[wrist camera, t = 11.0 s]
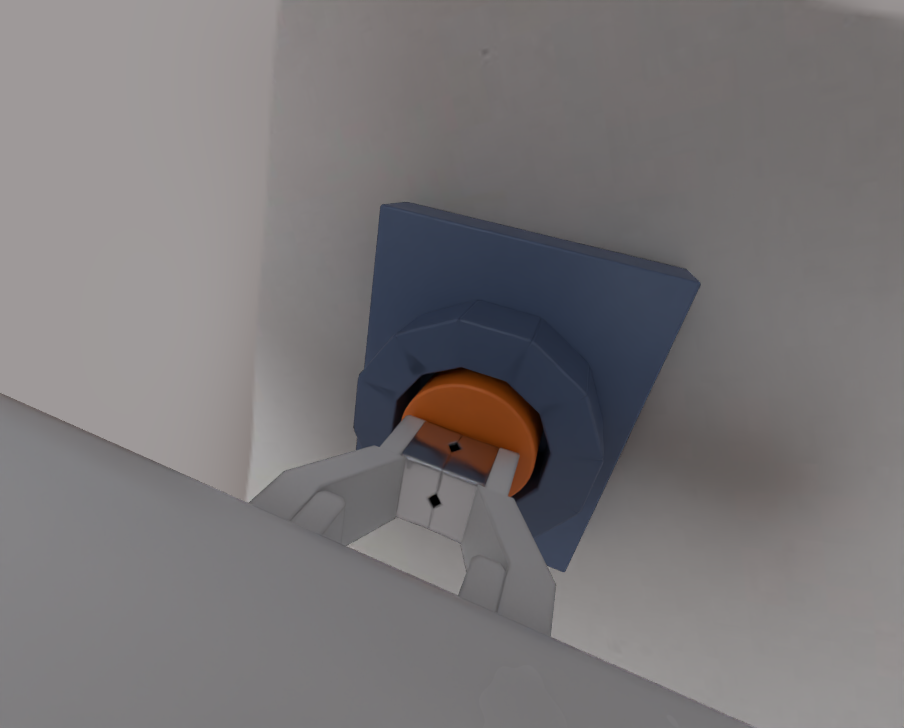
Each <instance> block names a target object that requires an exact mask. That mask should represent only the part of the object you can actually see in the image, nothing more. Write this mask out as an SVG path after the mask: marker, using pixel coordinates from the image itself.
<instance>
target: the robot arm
mask: <svg viewBox="0 0 904 728" xmlns="http://www.w3.org/2000/svg"><path fill="white" fill-rule="evenodd" d="M519 457H520V455H519V453H517V452H514V451H510V450H507V449H504V448H501V447H500V449H499V447H497V446H494V445H491V444H488V443H485V442H482V441H479V440H476V439H473V438H470V437H468V436H465V435H463V434H460V433H458V432H455V431H453V430H450V429H447V428H445V427H442V426H439V425H437V424H434V423H432V422H429V421H426V420H423V419H421V418H418V417H415V416H412V415H407V416H405V417H404V419H403V420H402V421H401V422H400V423H399V424H398V426H397V427H396V428H395V429H394V430H393V432H392V433H391V434H390V435H389V436H388V437H387V439H386V440H385V441H384V442H383V443H382V445H381V446H380V447H378V446H375V445H373V446H370V447H366V448H363V449H359V450H356V451H352V452H349V453H345V454H342V455H338V456H335V457H331V458H328V459H324V460H321V461H317V462H314V463H310V464H307V465H303V466H300V467H296V468H293V469H289V470H286V471H284V472H282V473H281V474H280V475H279V476H278V477H277V478H276V479H275V480H274V481H272V482H271V483H270V484H269V485H268V486H267V487H266V488H265V489H264V490H262V491H261V492H260V493H259V494H258V495H257V496H256V497H255V498H253V499H252V500H251V501H250V502H249V503H248V502H245V501H243V500H241V499H238V498H236V497H234V496H232V495H229V494H227V493H225V492H223V491H220V490H218V489H215V488H214V487H211V486H209V485H207V484H205V483H202V482H200V481H198V480H196V479H193V478H191V477H189V476H186V475H184V474H182V473H180V472H177V471H175V470H173V469H171V468H168V467H166V466H164V465H161V464H159V463H157V462H155V461H153V460H150V459H148V458H146V457H143V456H141V455H139V454H136V453H134V452H132V451H130V450H128V449H125V448H123V447H121V446H119V445H117V444H114V443H112V442H110V441H107V440H105V439H103V438H101V437H98V436H96V435H94V434H92V433H89V432H87V431H85V430H83V429H80V428H78V427H76V426H74V425H71V424H69V423H67V422H65V421H62V420H60V419H58V418H56V417H53V416H51V415H49V414H47V413H44V412H42V411H40V410H37V409H35V408H33V407H31V406H28V405H26V404H24V403H22V402H20V401H17V400H15V399H13V398H11V397H8V396H6V395H4V394H1V393H0V728H756V727H754V726H751V725H749V724H747V723H745V722H742V721H740V720H738V719H736V718H733V717H731V716H729V715H727V714H724V713H722V712H720V711H718V710H715V709H713V708H711V707H709V706H706V705H704V704H702V703H699V702H697V701H695V700H693V699H690V698H688V697H686V696H684V695H681V694H679V693H677V692H675V691H672V690H670V689H668V688H666V687H663V686H661V685H659V684H657V683H654V682H652V681H650V680H648V679H645V678H643V677H641V676H638V675H636V674H634V673H632V672H629V671H627V670H625V669H623V668H620V667H618V666H616V665H613V664H611V663H609V662H607V661H604V660H602V659H600V658H598V657H595V656H593V655H591V654H588V653H586V652H584V651H582V650H579V649H577V648H575V647H572V646H570V645H568V644H566V643H563V642H561V641H559V640H557V639H554V638H552V637H551V628H552V619H553V609H554V600H555V590H556V583H555V581H554V579H553V577H552V575H551V573H550V571H549V569H548V567H547V565H546V563H545V561H544V559H543V557H542V555H541V553H540V551H539V549H538V547H537V545H536V543H535V541H534V539H533V537H532V534H531V532H530V530H529V528H528V526H527V524H526V522H525V520H524V518H523V516H522V514H521V512H520V510H519V508H518V506H517V504H516V502H515V500H514V498H512V497H509V496H508V495H509V491H510V488H511V484H512V481H513V477H514V474H515V471H516V467H517V464H518V460H519ZM395 517H398V518H401V519H403V520H406V521H409V522H411V523H414V524H416V525H419V526H422V527H424V528H427V529H428V528H429V530H432V531H434V532H436V533H438V534H440V535H443V536H445V537H447V538H449V539H452V540H454V541H456V542H458V543H461V550H462V554H463V559H464V563H465V568H466V572H467V573H466V575H465V578H464V581H463V584H462V586H461V589H460V592H459V595H455V594H453V593H451V592H449V591H446V590H444V589H442V588H440V587H438V586H435V585H433V584H431V583H429V582H426V581H424V580H422V579H419V578H417V577H415V576H413V575H410V574H408V573H406V572H404V571H401V570H399V569H397V568H395V567H392V566H390V565H388V564H385V563H383V562H381V561H379V560H376V559H374V558H372V557H370V556H367V555H365V554H363V553H361V552H358V551H356V550H354V549H352V548H349V547H347V545H349V544H351V543H352V542H354V541H356V540H358V539H359V538H361V537H363V536H365V535H367V534H368V533H370V532H372V531H374V530H375V529H377V528H379V527H381V526H382V525H384V524H386V523H388V522H390V521H391V520H393V519H395Z"/></svg>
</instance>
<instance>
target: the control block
mask: <svg viewBox="0 0 904 728" xmlns="http://www.w3.org/2000/svg"><path fill="white" fill-rule="evenodd" d="M699 287H700V282H699V281H698V280H697V279H696V278H695V277H694V276H693V275H692V274H691V273H690V272H689V271H688V270H687V269H684V268H680V267H676V266H671V265H667V264H663V263H659V262H655V261H651V260H646V259H642V258H638V257H634V256H630V255H626V254H622V253H617V252H613V251H609V250H605V249H601V248H597V247H592V246H588V245H584V244H580V243H576V242H572V241H568V240H563V239H559V238H555V237H551V236H547V235H543V234H538V233H534V232H530V231H526V230H522V229H518V228H513V227H509V226H505V225H501V224H497V223H493V222H489V221H484V220H480V219H476V218H472V217H468V216H464V215H459V214H455V213H451V212H447V211H443V210H439V209H435V208H430V207H426V206H422V205H418V204H414V203H410V202H402V203H391V204H382V205H381V207H380V216H379V226H378V236H377V246H376V256H375V266H374V276H373V286H372V296H371V306H370V316H369V326H368V336H367V346H366V356H365V366H364V370H363V371H362V372H361V373H360V374H359V377H358V384H357V395H356V405H355V416H354V427H353V428H354V431H355V434H356V436H357V445H356V450H359V449H363V448H366V447H370V446H373V445H375V446H378V447H380V446H381V445H382V443H383V442H384V441H385V440H386V439H387V437H388V436H389V435H390V434H391V433H392V432H393V430H394V429H395V428H396V427H397V426H398V424H399V423H400V422H401V420H402V416H403V414H404V411H405V409H406V407H407V406H408V404H409V403H410V402H411V401H412V399H413V398H414V397H415V396H416V395H417V394H418V392H419V391H420V390H421V389H422V388H423V387H424V386H425V384H426V383H427V382H428V381H429V380H430V379H431V377H432V376H433V375H434V374H435V373H436V372H440V371H445V370H450V369H456V368H461V367H462V368H465V369H469V370H472V371H475V372H478V373H481V374H484V375H487V376H490V377H493V378H497V379H500V380H503V381H506V382H507V383H508V384H509V385H510V386H511V387H512V388H513V389H514V390H515V391H516V392H517V393H518V394H519V395H520V396H521V397H523V398H524V399H525V400H526V401H527V402H528V403H529V404H530V405H531V406H532V407H533V408H534V409H535V410H536V411H537V412H538V413H539V414H540V418H541V421H542V425H543V431H542V436H541V440H540V444H539V449H538V453H537V457H536V462H535V466H534V470H533V473H532V475H531V477H530V479H529V480H528V482H527V483H526V485H525V486H524V487H523V488H522V489H521V490H520V491H519V492H517V493H516V494H515V495H513V496H511V497H512V498H514V500H515V502H516V504H517V506H518V508H519V510H520V512H521V514H522V516H523V518H524V520H525V522H526V524H527V526H528V528H529V530H530V532H531V534H532V537H533V539H534V541H535V543H536V545H537V547H538V549H539V551H540V553H541V555H542V557H543V559H544V561H545V563H546V565H547V566H549V567H552V568H554V569H557V570H559V571H562V572H565V571H566V569H567V567H568V565H569V562H570V560H571V558H572V556H573V554H574V552H575V550H576V548H577V546H578V543H579V541H580V539H581V537H582V535H583V533H584V531H585V529H586V526H587V524H588V522H589V520H590V518H591V516H592V514H593V512H594V510H595V507H596V505H597V503H598V501H599V499H600V497H601V495H602V493H603V490H604V488H605V486H606V484H607V482H608V480H609V478H610V476H611V474H612V471H613V469H614V467H615V465H616V463H617V461H618V459H619V457H620V455H621V452H622V450H623V448H624V446H625V444H626V442H627V440H628V438H629V435H630V433H631V431H632V429H633V427H634V425H635V423H636V421H637V419H638V416H639V414H640V412H641V410H642V408H643V406H644V404H645V402H646V399H647V397H648V395H649V393H650V391H651V389H652V387H653V385H654V383H655V380H656V378H657V376H658V374H659V372H660V370H661V368H662V366H663V364H664V361H665V359H666V357H667V355H668V353H669V351H670V349H671V347H672V344H673V342H674V340H675V338H676V336H677V334H678V332H679V330H680V328H681V325H682V323H683V321H684V319H685V317H686V315H687V313H688V311H689V309H690V306H691V304H692V302H693V300H694V298H695V296H696V294H697V292H698V289H699Z"/></svg>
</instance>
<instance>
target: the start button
mask: <svg viewBox="0 0 904 728" xmlns="http://www.w3.org/2000/svg"><path fill="white" fill-rule="evenodd" d="M407 415H412V416H415V417H418V418H421V419H423V420H426V421H429V422H432V423H434V424H437V425H439V426H442V427H445V428H447V429H450V430H453V431H455V432H458V433H460V434H463V435H465V436H468V437H470V438H473V439H476V440H479V441H482V442H485V443H488V444H491V445H494V446H497V447H499V449H500V447H501V448H504V449H507V450H510V451H514V452H517V453H519V455H520V457H519V460H518V464H517V467H516V471H515V474H514V477H513V481H512V484H511V488H510V491H509V495H508V496H509V497H511V496H513V495H515V494H516V493H517V492H519V491H520V490H521V489H522V488H523V487H524V486H525V485H526V483H527V482H528V480H529V479H530V477H531V475H532V473H533V470H534V466H535V462H536V457H537V453H538V449H539V444H540V440H541V436H542V431H543V425H542V421H541V418H540V414H539V413H538V412H537V411H536V410H535V409H534V408H533V407H532V406H531V405H530V404H529V403H528V402H527V401H526V400H525V399H524V398H523V397H521V396H520V395H519V394H518V393H517V392H516V391H515V390H514V389H513V388H512V387H511V386H510V385H509V384H508V383H507V382H506V381H503V380H500V379H497V378H493V377H490V376H487V375H484V374H481V373H478V372H475V371H472V370H469V369H465V368H462V367H461V368H456V369H450V370H445V371H440V372H436V373H435V374H434V375H433V376H432V377H431V379H430V380H429V381H428V382H427V383H426V384H425V386H424V387H423V388H422V389H421V390H420V391H419V392H418V394H417V395H416V396H415V397H414V398H413V399H412V401H411V402H410V403H409V404H408V406H407V407H406V409H405V411H404V414H403V416H402V420H403V419H404V417H405V416H407ZM402 420H401V421H402Z"/></svg>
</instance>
